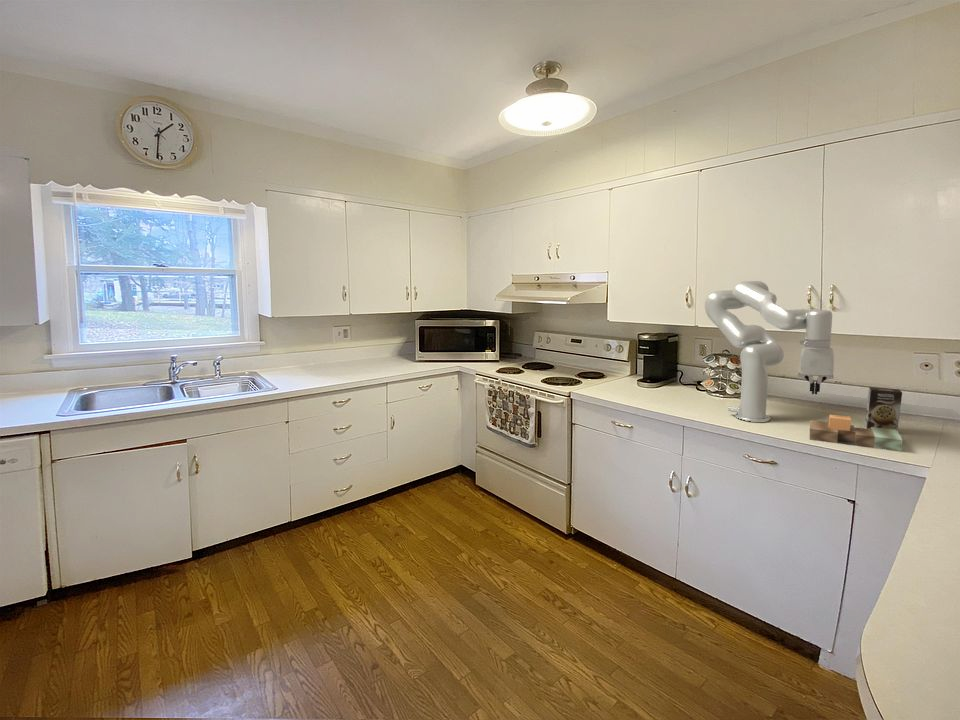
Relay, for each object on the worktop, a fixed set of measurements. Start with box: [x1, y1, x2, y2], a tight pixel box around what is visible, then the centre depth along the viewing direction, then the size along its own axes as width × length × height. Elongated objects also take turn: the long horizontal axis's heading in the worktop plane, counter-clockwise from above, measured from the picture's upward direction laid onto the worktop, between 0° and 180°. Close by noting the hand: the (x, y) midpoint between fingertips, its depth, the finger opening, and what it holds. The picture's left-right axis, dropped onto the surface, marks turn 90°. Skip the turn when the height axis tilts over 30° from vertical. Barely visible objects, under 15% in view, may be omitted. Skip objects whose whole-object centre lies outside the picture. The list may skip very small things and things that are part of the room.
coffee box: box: [864, 386, 903, 431], centre depth 176 cm, size 9×6×16 cm
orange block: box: [828, 414, 852, 431], centre depth 169 cm, size 6×5×4 cm
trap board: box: [809, 419, 903, 452], centre depth 168 cm, size 25×13×4 cm, turn 55°
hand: (814, 393), depth 172 cm, fingers closed
